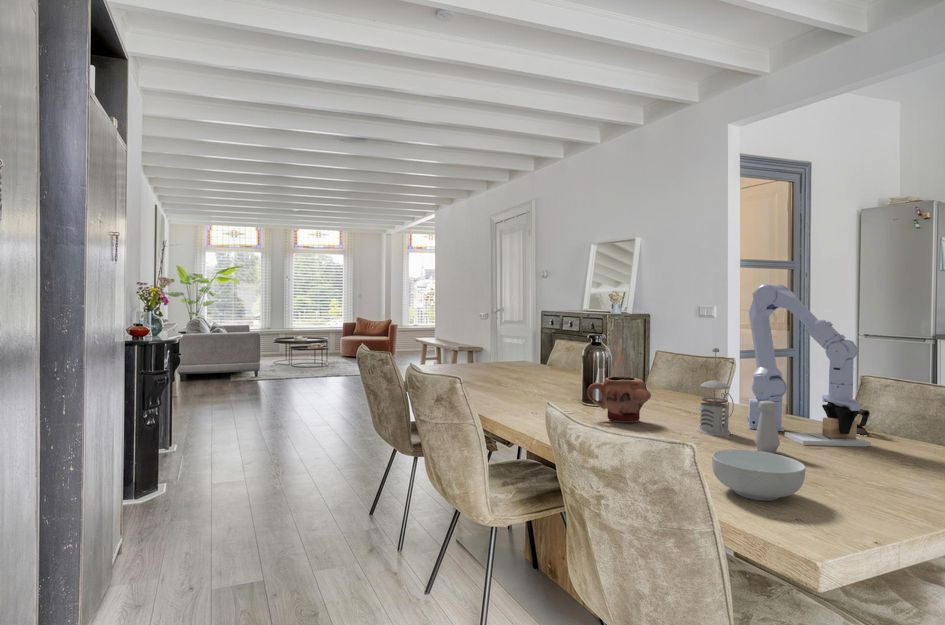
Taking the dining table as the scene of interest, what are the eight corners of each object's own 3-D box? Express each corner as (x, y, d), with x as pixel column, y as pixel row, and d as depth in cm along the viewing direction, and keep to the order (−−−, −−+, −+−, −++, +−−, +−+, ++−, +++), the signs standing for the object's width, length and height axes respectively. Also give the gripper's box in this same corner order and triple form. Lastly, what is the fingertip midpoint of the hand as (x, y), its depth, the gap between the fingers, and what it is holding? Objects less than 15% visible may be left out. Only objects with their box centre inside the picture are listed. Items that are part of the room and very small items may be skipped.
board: (802, 444, 159) (802, 440, 159) (784, 436, 169) (784, 432, 169) (870, 446, 158) (870, 442, 158) (848, 437, 168) (848, 433, 168)
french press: (715, 427, 179) (717, 346, 179) (744, 436, 168) (746, 349, 168) (688, 429, 176) (690, 346, 176) (716, 438, 165) (718, 350, 165)
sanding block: (830, 438, 161) (830, 420, 161) (822, 435, 165) (822, 417, 165) (856, 439, 161) (856, 421, 161) (847, 435, 165) (848, 418, 165)
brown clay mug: (589, 423, 182) (590, 379, 182) (584, 416, 194) (584, 374, 194) (654, 425, 181) (655, 380, 181) (644, 417, 193) (645, 375, 193)
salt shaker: (778, 450, 152) (780, 400, 152) (780, 455, 147) (781, 404, 147) (754, 447, 155) (755, 398, 155) (754, 452, 150) (755, 402, 149)
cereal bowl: (761, 514, 106) (762, 475, 106) (693, 486, 121) (693, 452, 121) (824, 502, 113) (825, 466, 112) (752, 478, 128) (753, 445, 128)
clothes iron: (855, 430, 182) (864, 400, 179) (876, 447, 171) (885, 416, 168) (832, 427, 182) (840, 397, 180) (851, 444, 171) (860, 413, 169)
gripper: (872, 387, 156) (870, 438, 156) (840, 380, 170) (839, 426, 170) (845, 387, 156) (843, 437, 156) (815, 379, 170) (814, 426, 171)
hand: (839, 432), depth 163 cm, fingers closed on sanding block, 4 cm apart
